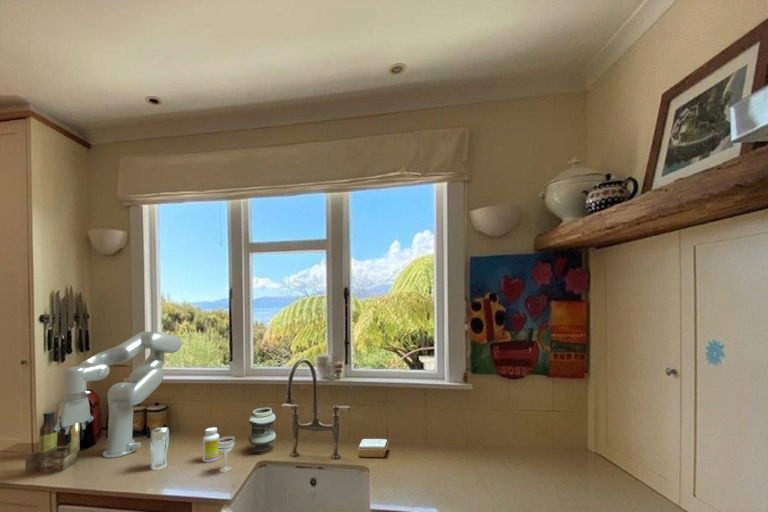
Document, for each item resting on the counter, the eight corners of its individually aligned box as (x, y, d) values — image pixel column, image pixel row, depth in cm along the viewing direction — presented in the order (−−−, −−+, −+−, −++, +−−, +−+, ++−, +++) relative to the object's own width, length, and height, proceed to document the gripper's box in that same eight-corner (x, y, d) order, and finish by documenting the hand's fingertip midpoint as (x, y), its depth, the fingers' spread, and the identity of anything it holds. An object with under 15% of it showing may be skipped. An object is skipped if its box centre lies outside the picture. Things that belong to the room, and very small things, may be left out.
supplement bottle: (221, 459, 168) (222, 428, 169) (206, 464, 163) (206, 432, 165) (215, 455, 172) (215, 425, 174) (199, 459, 168) (200, 429, 169)
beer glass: (148, 471, 157) (149, 433, 159) (149, 465, 163) (151, 428, 165) (167, 468, 160) (169, 430, 162) (168, 462, 166) (169, 426, 168)
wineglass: (230, 473, 154) (230, 441, 155) (213, 473, 154) (214, 442, 156) (237, 465, 161) (237, 435, 162) (221, 465, 161) (221, 436, 162)
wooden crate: (86, 455, 176) (87, 438, 177) (63, 470, 160) (64, 452, 161) (46, 458, 173) (47, 441, 174) (18, 474, 157) (19, 456, 158)
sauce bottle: (60, 454, 178) (63, 410, 180) (47, 460, 171) (50, 414, 174) (47, 454, 178) (50, 410, 180) (33, 459, 172) (37, 414, 174)
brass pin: (81, 448, 162) (82, 419, 163) (75, 452, 158) (76, 423, 159) (71, 449, 162) (72, 420, 162) (64, 453, 158) (65, 424, 159)
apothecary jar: (243, 455, 172) (244, 413, 174) (255, 444, 184) (256, 406, 186) (269, 455, 170) (269, 413, 172) (279, 445, 182) (280, 406, 184)
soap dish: (388, 450, 174) (388, 438, 175) (386, 459, 164) (385, 446, 165) (361, 449, 176) (361, 438, 176) (357, 458, 166) (357, 446, 167)
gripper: (93, 390, 171) (92, 432, 169) (46, 400, 156) (44, 447, 155) (101, 392, 167) (100, 435, 166) (54, 403, 153) (52, 450, 151)
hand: (73, 440), depth 160 cm, fingers closed on brass pin, 4 cm apart
